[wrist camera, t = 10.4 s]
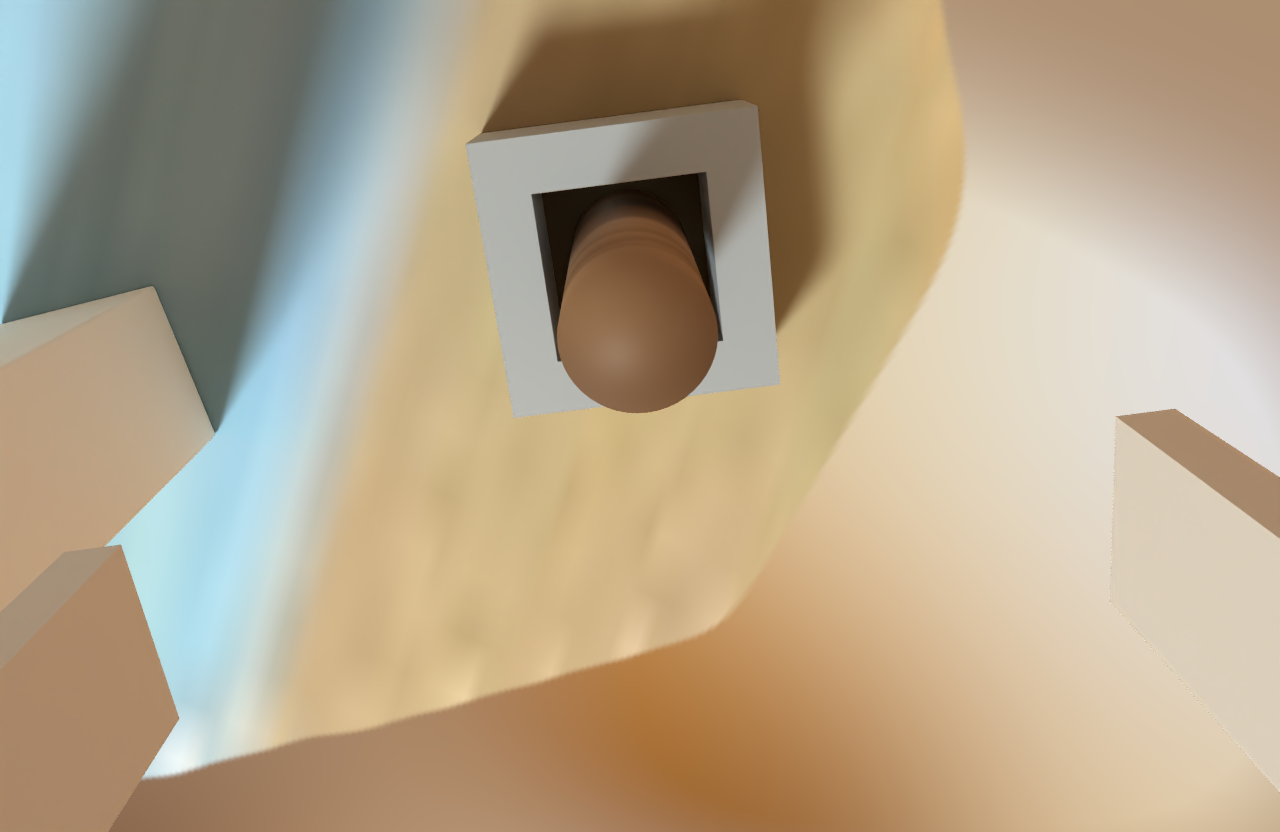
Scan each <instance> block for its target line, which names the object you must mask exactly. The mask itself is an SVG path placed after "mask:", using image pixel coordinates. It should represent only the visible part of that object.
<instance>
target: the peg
mask: <svg viewBox="0 0 1280 832" xmlns="http://www.w3.org/2000/svg"><path fill="white" fill-rule="evenodd" d="M717 343H718V326H717V320H716V315H715V312H714V309H713V306H712V304H711V301H710V298H709V296H708V293H707V291H706V288H705V285H704V283H703V280H702V278H701V275H700V272H699V270H698V267H697V265H696V262H695V260H694V257H693V254H692V252H691V249H690V247H689V244H688V241H687V239H686V236H685V234H684V231H683V228H682V226H681V224H680V222H679V219H678V218H677V216H676V215H675V213H674V212H673V211H672V209H671V208H670V207H669V206H668V205H667V204H666V203H665V202H663V201H662V200H660V199H659V198H657V197H655V196H653V195H651V194H649V193H646V192H642V191H637V190H621V191H616V192H613V193H610V194H607V195H605V196H603V197H601V198H599V199H598V200H596V201H595V202H594V203H593V204H592V205H590V206H589V207H588V209H587V210H586V211H585V212H584V213H583V215H582V216H581V218H580V220H579V222H578V224H577V227H576V230H575V233H574V239H573V244H572V250H571V255H570V261H569V266H568V272H567V277H566V283H565V288H564V294H563V299H562V305H561V310H560V316H559V321H558V327H557V344H558V350H559V355H560V358H561V361H562V364H563V366H564V368H565V370H566V372H567V374H568V376H569V377H570V379H571V380H572V381H573V383H574V384H575V385H576V386H577V387H578V388H579V389H580V391H581V392H583V393H584V394H585V395H586V396H588V397H589V398H590V399H592V400H593V401H595V402H597V403H598V404H600V405H603V406H605V407H607V408H610V409H613V410H616V411H621V412H627V413H647V412H652V411H658V410H661V409H664V408H667V407H669V406H671V405H674V404H676V403H678V402H679V401H681V400H682V399H684V398H685V397H687V396H688V395H689V394H690V393H692V392H693V391H694V390H695V389H696V388H697V387H698V386H699V384H700V383H701V382H702V381H703V379H704V378H705V376H706V375H707V373H708V371H709V369H710V368H711V365H712V363H713V360H714V358H715V354H716V350H717Z"/></svg>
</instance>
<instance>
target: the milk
mask: <svg viewBox="0 0 1280 832" xmlns="http://www.w3.org/2000/svg"><path fill="white" fill-rule="evenodd" d="M214 436H215V433H214V430H213V428H212V425H211V423H210V420H209V418H208V415H207V413H206V411H205V408H204V406H203V403H202V401H201V399H200V396H199V394H198V391H197V389H196V387H195V384H194V382H193V379H192V377H191V374H190V372H189V370H188V367H187V365H186V362H185V360H184V358H183V355H182V353H181V350H180V348H179V346H178V343H177V341H176V338H175V336H174V333H173V331H172V329H171V326H170V324H169V321H168V319H167V317H166V314H165V312H164V309H163V307H162V305H161V302H160V300H159V297H158V295H157V293H156V290H155V288H154V287H153V286H149V287H145V288H142V289H138V290H134V291H130V292H126V293H122V294H118V295H114V296H110V297H106V298H102V299H98V300H94V301H90V302H86V303H82V304H79V305H75V306H71V307H67V308H63V309H59V310H55V311H51V312H47V313H43V314H39V315H35V316H31V317H27V318H23V319H20V320H16V321H12V322H8V323H4V324H0V612H1V611H2V610H3V609H4V608H5V607H6V606H7V605H8V604H9V603H11V602H12V601H13V600H14V599H15V598H16V597H17V596H18V595H19V594H20V593H21V592H22V591H23V590H24V589H25V588H26V587H27V586H29V585H30V584H31V583H32V582H33V581H34V580H35V579H36V578H37V577H38V576H39V575H40V574H41V573H42V572H43V571H44V570H45V569H47V568H48V567H49V566H50V565H51V564H52V563H53V562H54V561H55V560H56V559H57V558H58V557H59V556H60V555H61V554H62V553H64V552H69V551H76V550H84V549H92V548H100V547H104V546H105V545H106V544H107V543H108V542H109V541H110V540H111V539H112V538H113V537H114V536H115V535H116V534H117V533H118V532H119V531H120V530H121V529H122V528H123V527H124V526H125V525H126V524H127V523H128V522H129V521H130V520H131V519H132V518H133V517H134V516H135V515H136V514H137V513H138V512H139V511H140V510H141V509H142V508H143V507H144V506H145V505H146V504H147V503H148V502H149V501H150V500H151V499H152V498H153V497H154V496H155V495H156V494H157V493H158V492H159V491H160V490H161V489H162V488H163V487H164V486H165V485H166V484H167V483H168V482H169V481H170V480H171V479H172V478H173V477H174V476H175V475H176V474H177V473H178V472H179V471H180V470H181V469H182V468H183V467H184V466H185V465H186V464H187V463H188V462H189V461H190V460H191V459H192V458H193V457H194V456H195V455H196V454H197V453H198V452H199V451H200V450H201V449H202V448H203V447H204V446H205V445H206V444H207V443H208V442H209V441H210V440H211V439H212V438H213V437H214Z"/></svg>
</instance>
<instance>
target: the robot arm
mask: <svg viewBox="0 0 1280 832" xmlns="http://www.w3.org/2000/svg"><path fill="white" fill-rule="evenodd" d="M1113 490H1114V491H1113V521H1112V551H1111V552H1112V553H1111V584H1110V602H1111V603H1112V604H1113V605H1114V607H1115V608H1116V609H1117V610H1118V611H1119V612H1120V613H1121V614H1122V616H1123V617H1124V618H1125V619H1126V620H1127V621H1128V622H1129V623H1130V625H1131V626H1132V627H1133V628H1134V629H1135V630H1136V631H1137V632H1138V634H1139V635H1140V636H1141V637H1142V638H1143V639H1144V640H1145V641H1146V643H1147V644H1149V646H1150V647H1151V648H1152V649H1153V650H1154V651H1155V653H1156V654H1157V655H1158V656H1159V657H1160V658H1161V659H1162V660H1163V662H1164V663H1165V664H1166V665H1167V666H1168V667H1169V668H1170V669H1171V671H1172V672H1173V673H1174V674H1175V675H1176V676H1177V677H1178V678H1179V680H1180V681H1181V682H1182V683H1183V684H1184V685H1185V686H1186V688H1187V689H1188V690H1189V691H1190V692H1191V693H1192V694H1193V695H1194V697H1195V698H1196V699H1197V700H1198V701H1199V702H1200V703H1201V704H1202V705H1203V707H1204V708H1205V709H1206V710H1207V711H1208V712H1209V713H1210V715H1211V716H1212V717H1213V718H1214V719H1215V720H1216V721H1217V722H1218V723H1219V725H1220V726H1221V727H1222V728H1223V729H1224V730H1225V731H1226V732H1227V734H1228V735H1229V736H1230V737H1231V738H1232V739H1233V740H1234V741H1235V742H1236V743H1237V745H1238V746H1239V747H1240V748H1241V749H1242V750H1243V752H1244V753H1245V754H1246V755H1247V756H1248V757H1249V758H1250V759H1251V761H1252V762H1253V763H1254V764H1255V765H1256V766H1257V767H1258V768H1259V770H1261V772H1262V773H1263V774H1264V775H1265V776H1266V777H1267V779H1268V780H1269V781H1270V782H1271V783H1272V784H1273V785H1274V786H1275V788H1276V789H1277V790H1278V791H1279V792H1280V477H1278V476H1277V475H1275V474H1274V473H1272V472H1271V471H1269V470H1268V469H1266V468H1264V467H1263V466H1261V465H1260V464H1258V463H1257V462H1255V461H1254V460H1252V459H1251V458H1249V457H1248V456H1246V455H1244V454H1243V453H1242V452H1240V451H1238V450H1237V449H1235V448H1234V447H1232V446H1231V445H1229V444H1228V443H1226V442H1225V441H1223V440H1222V439H1220V438H1219V437H1217V436H1215V435H1214V434H1213V433H1211V432H1209V431H1208V430H1206V429H1205V428H1203V427H1202V426H1200V425H1199V424H1197V423H1196V422H1194V421H1193V420H1191V419H1190V418H1188V417H1187V416H1185V415H1184V414H1182V413H1180V412H1179V411H1177V410H1176V409H1170V410H1162V411H1155V412H1147V413H1139V414H1132V415H1124V416H1116V427H1115V460H1114V489H1113ZM178 720H179V716H178V713H177V710H176V707H175V704H174V701H173V698H172V695H171V692H170V689H169V686H168V683H167V680H166V677H165V675H164V672H163V669H162V666H161V663H160V660H159V657H158V654H157V651H156V648H155V645H154V642H153V639H152V636H151V633H150V630H149V627H148V624H147V621H146V618H145V615H144V612H143V609H142V606H141V603H140V600H139V597H138V594H137V591H136V588H135V585H134V582H133V579H132V576H131V573H130V570H129V567H128V564H127V561H126V558H125V555H124V552H123V549H122V546H121V545H115V546H107V547H100V548H92V549H84V550H76V551H69V552H64V553H62V554H61V555H60V556H59V557H58V558H57V559H56V560H55V561H54V562H53V563H52V564H51V565H50V566H49V567H48V568H47V569H45V570H44V571H43V572H42V573H41V574H40V575H39V576H38V577H37V578H36V579H35V580H34V581H33V582H32V583H31V584H30V585H29V586H27V587H26V588H25V589H24V590H23V591H22V592H21V593H20V594H19V595H18V596H17V597H16V598H15V599H14V600H13V601H12V602H11V603H9V604H8V605H7V606H6V607H5V608H4V609H3V610H2V611H1V612H0V832H108V831H109V829H110V828H111V826H112V824H113V823H114V821H115V820H116V818H117V816H118V815H119V813H120V812H121V810H122V808H123V807H124V805H125V804H126V802H127V801H128V799H129V797H130V796H131V794H132V793H133V791H134V790H135V788H136V786H137V785H138V783H139V782H140V780H141V778H142V777H143V775H144V774H145V772H146V771H147V769H148V767H149V766H150V764H151V763H152V761H153V759H154V758H155V756H156V755H157V753H158V751H159V750H160V748H161V747H162V745H163V744H164V742H165V740H166V739H167V737H168V736H169V734H170V732H171V731H172V729H173V728H174V726H175V725H176V723H177V721H178Z"/></svg>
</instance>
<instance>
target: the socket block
mask: <svg viewBox="0 0 1280 832" xmlns="http://www.w3.org/2000/svg"><path fill="white" fill-rule="evenodd" d="M466 149H467V155H468V161H469V166H470V172H471V178H472V183H473V189H474V195H475V200H476V206H477V212H478V217H479V223H480V229H481V235H482V240H483V246H484V252H485V257H486V263H487V269H488V274H489V280H490V286H491V291H492V297H493V303H494V309H495V314H496V320H497V326H498V331H499V337H500V343H501V348H502V354H503V360H504V365H505V371H506V377H507V382H508V388H509V394H510V400H511V405H512V411H513V417H514V418H517V417H525V416H533V415H541V414H549V413H557V412H565V411H573V410H581V409H589V408H597V407H605V406H603V405H600V404H598V403H597V402H595V401H593V400H592V399H590V398H589V397H588V396H586V395H585V394H584V393H583V392H581V391H580V389H579V388H578V387H577V386H576V385H575V384H574V383H573V381H572V380H571V379H570V377H569V376H568V374H567V372H566V370H565V368H564V366H563V364H562V361H561V358H560V355H559V350H558V344H557V327H558V321H559V316H560V309H559V303H558V296H557V290H556V283H555V277H554V270H553V264H552V257H551V251H550V244H549V238H548V231H547V225H546V218H545V212H544V205H543V199H542V193H545V192H553V191H561V190H568V189H576V188H584V187H592V186H599V185H607V184H615V183H623V182H630V181H638V180H646V179H654V178H661V177H669V176H677V175H685V174H692V173H698V179H699V189H700V199H701V209H702V219H703V228H704V238H705V248H706V258H707V267H708V277H709V287H710V297H711V304H712V306H713V309H714V312H715V315H716V320H717V326H718V343H717V350H716V354H715V358H714V360H713V363H712V365H711V368H710V369H709V371H708V373H707V375H706V376H705V378H704V379H703V381H702V382H701V383H700V384H699V386H698V387H697V388H696V389H695V390H694V391H693V392H692V393H690V394H689V395H688V396H692V395H700V394H708V393H716V392H724V391H732V390H740V389H748V388H756V387H764V386H772V385H780V375H779V363H778V351H777V338H776V326H775V314H774V301H773V289H772V277H771V264H770V252H769V240H768V228H767V215H766V203H765V191H764V178H763V166H762V154H761V141H760V129H759V117H758V106H756V105H754V104H751V103H749V102H747V101H745V100H742V99H740V100H733V101H725V102H717V103H710V104H702V105H694V106H687V107H679V108H671V109H664V110H656V111H648V112H640V113H633V114H625V115H617V116H610V117H602V118H594V119H587V120H579V121H571V122H564V123H556V124H548V125H541V126H533V127H525V128H518V129H510V130H502V131H494V132H487V133H481V134H479V135H478V136H476V137H475V138H474V139H472V140H471V141H469V142H468V143H467V144H466Z"/></svg>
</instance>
